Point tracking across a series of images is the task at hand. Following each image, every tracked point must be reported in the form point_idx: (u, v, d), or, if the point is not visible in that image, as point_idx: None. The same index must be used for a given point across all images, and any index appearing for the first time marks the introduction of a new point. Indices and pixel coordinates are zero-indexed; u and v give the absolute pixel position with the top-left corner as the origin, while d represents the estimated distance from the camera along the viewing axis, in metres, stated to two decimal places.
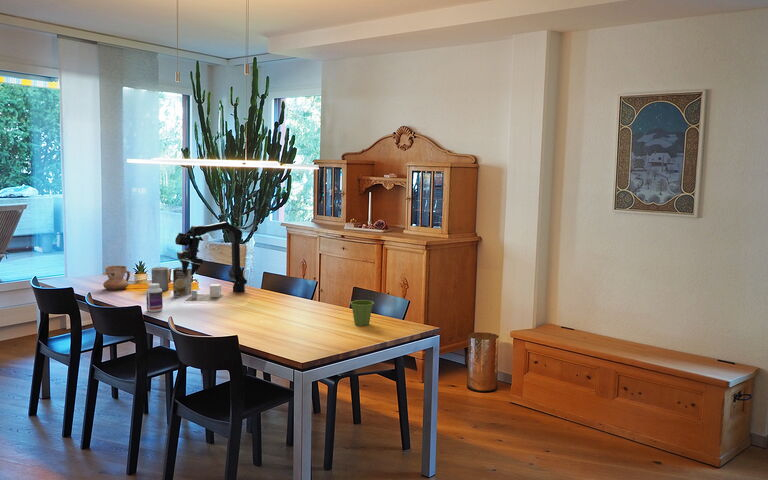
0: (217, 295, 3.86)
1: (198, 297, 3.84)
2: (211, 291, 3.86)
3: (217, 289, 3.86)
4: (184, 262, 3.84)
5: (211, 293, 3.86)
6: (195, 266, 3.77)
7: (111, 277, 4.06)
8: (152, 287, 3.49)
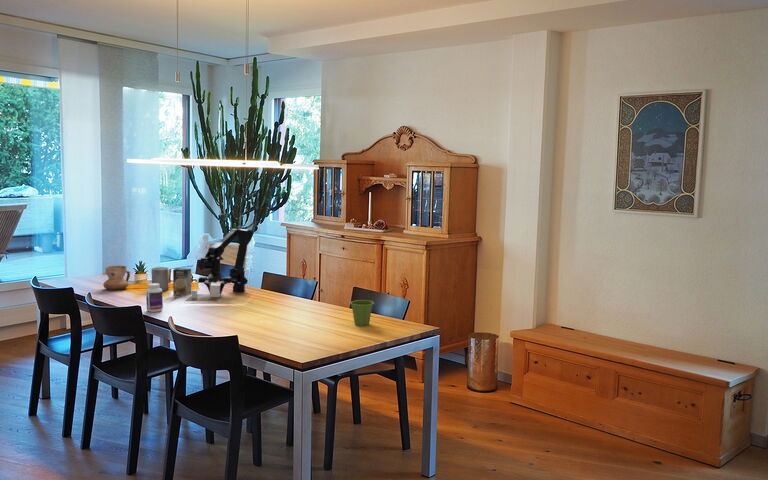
0: (217, 295, 3.86)
1: (198, 297, 3.84)
2: (211, 291, 3.86)
3: (217, 289, 3.86)
4: (209, 284, 3.87)
5: (211, 293, 3.86)
6: (222, 285, 3.89)
7: (111, 277, 4.06)
8: (152, 287, 3.49)
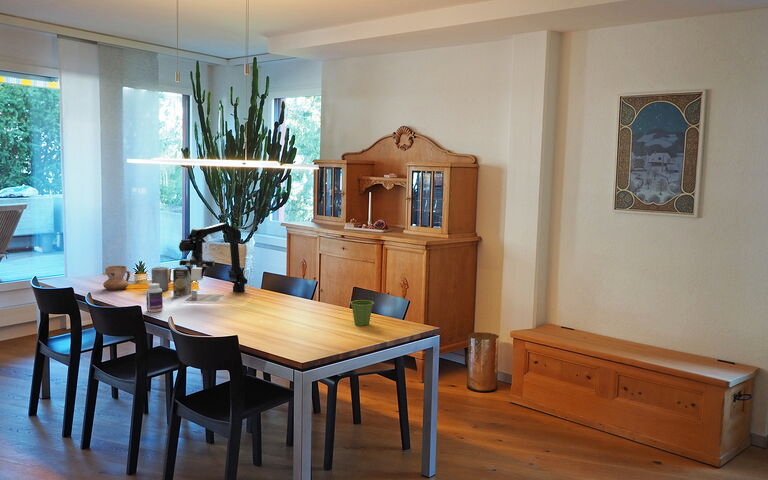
0: (198, 278, 3.77)
1: (198, 297, 3.84)
2: (192, 274, 3.77)
3: (199, 272, 3.77)
4: (191, 267, 3.78)
5: (192, 276, 3.77)
6: (204, 268, 3.80)
7: (111, 277, 4.06)
8: (152, 287, 3.49)
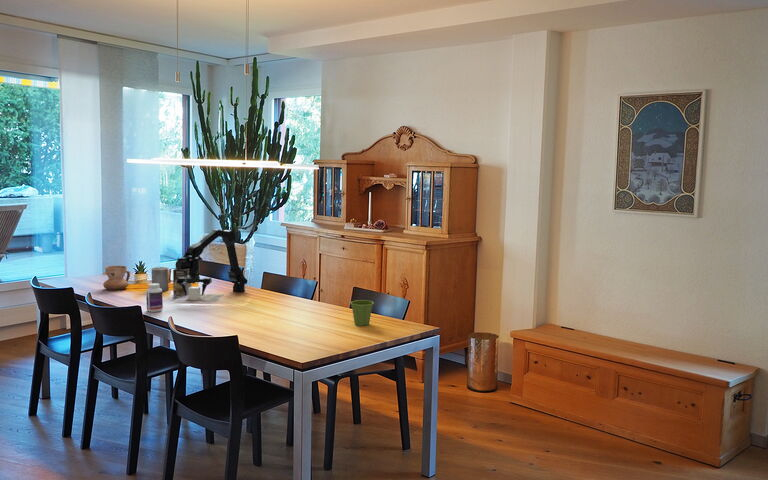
0: (196, 298, 3.77)
1: None
2: (190, 294, 3.77)
3: (196, 292, 3.77)
4: (185, 285, 3.78)
5: (189, 296, 3.77)
6: None
7: (111, 277, 4.06)
8: (152, 287, 3.49)
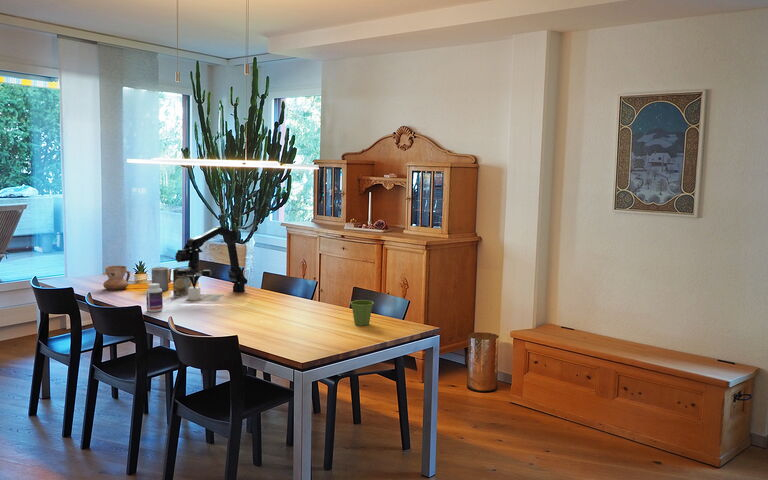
0: (196, 298, 3.77)
1: None
2: (190, 294, 3.77)
3: (196, 292, 3.77)
4: (192, 277, 3.78)
5: (189, 296, 3.77)
6: None
7: (111, 277, 4.06)
8: (152, 287, 3.49)
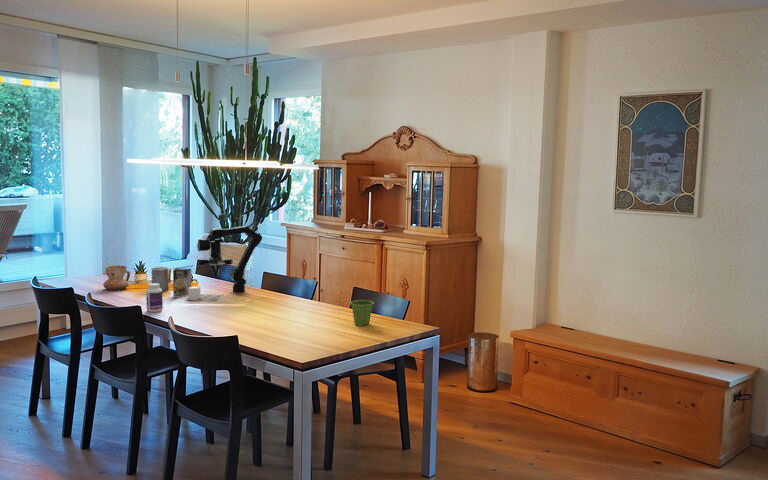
0: (196, 298, 3.77)
1: None
2: (190, 294, 3.77)
3: (196, 292, 3.77)
4: (214, 266, 3.94)
5: (189, 296, 3.77)
6: (218, 267, 3.96)
7: (111, 277, 4.06)
8: (152, 287, 3.49)
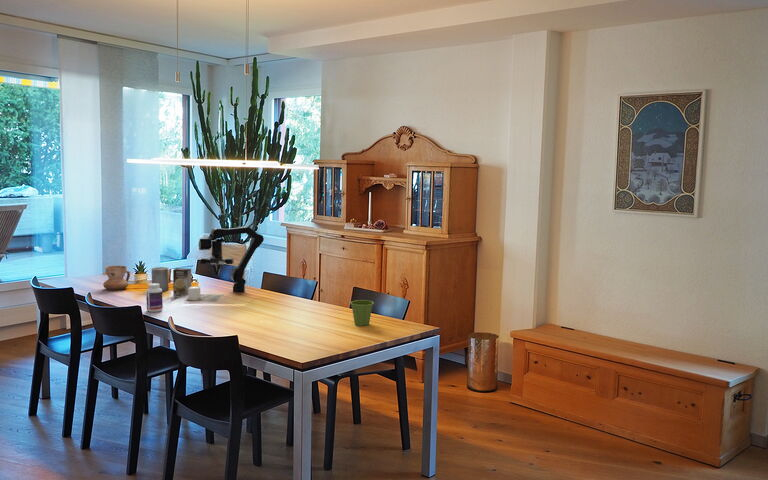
0: (196, 298, 3.77)
1: None
2: (190, 294, 3.77)
3: (196, 292, 3.77)
4: (215, 265, 3.95)
5: (189, 296, 3.77)
6: (219, 266, 3.97)
7: (111, 277, 4.06)
8: (152, 287, 3.49)
